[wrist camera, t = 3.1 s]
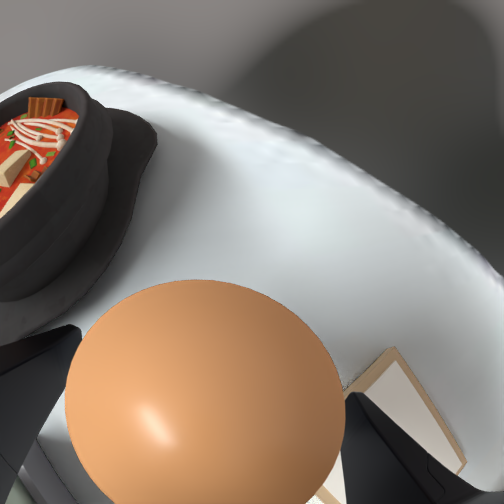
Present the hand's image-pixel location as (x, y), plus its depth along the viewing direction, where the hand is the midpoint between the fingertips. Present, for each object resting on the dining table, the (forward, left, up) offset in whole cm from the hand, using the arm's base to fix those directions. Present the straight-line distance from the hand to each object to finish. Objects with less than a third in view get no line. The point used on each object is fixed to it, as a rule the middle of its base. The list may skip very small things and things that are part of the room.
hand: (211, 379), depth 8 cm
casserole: (+17, +6, -8) cm, 20 cm away
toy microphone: (0, 0, -8) cm, 8 cm away
